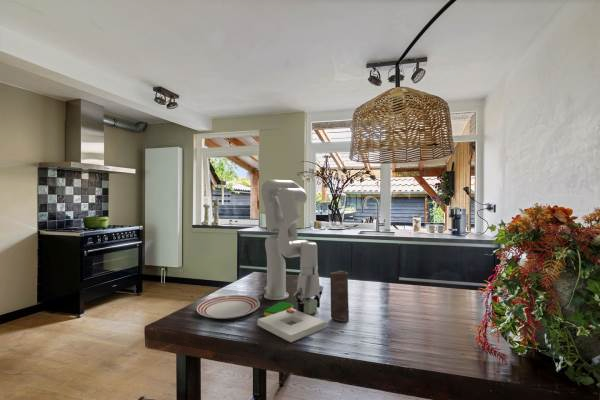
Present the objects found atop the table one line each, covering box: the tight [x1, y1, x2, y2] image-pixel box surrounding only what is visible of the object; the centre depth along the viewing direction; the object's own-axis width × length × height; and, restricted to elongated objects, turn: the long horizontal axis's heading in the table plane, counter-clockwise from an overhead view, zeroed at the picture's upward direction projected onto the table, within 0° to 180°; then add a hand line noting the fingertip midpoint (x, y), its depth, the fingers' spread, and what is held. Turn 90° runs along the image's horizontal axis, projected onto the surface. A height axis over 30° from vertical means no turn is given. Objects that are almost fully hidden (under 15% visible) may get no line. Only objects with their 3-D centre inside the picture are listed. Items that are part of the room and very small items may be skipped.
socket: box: [257, 308, 327, 343], centre depth 120 cm, size 20×18×3 cm
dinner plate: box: [196, 294, 261, 320], centre depth 137 cm, size 27×27×3 cm
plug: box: [303, 297, 318, 315], centre depth 135 cm, size 6×5×7 cm
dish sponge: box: [263, 301, 294, 317], centre depth 137 cm, size 7×14×2 cm, turn 151°
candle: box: [329, 270, 350, 323], centre depth 127 cm, size 8×7×20 cm
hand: (309, 309), depth 134 cm, fingers open, 9 cm apart
